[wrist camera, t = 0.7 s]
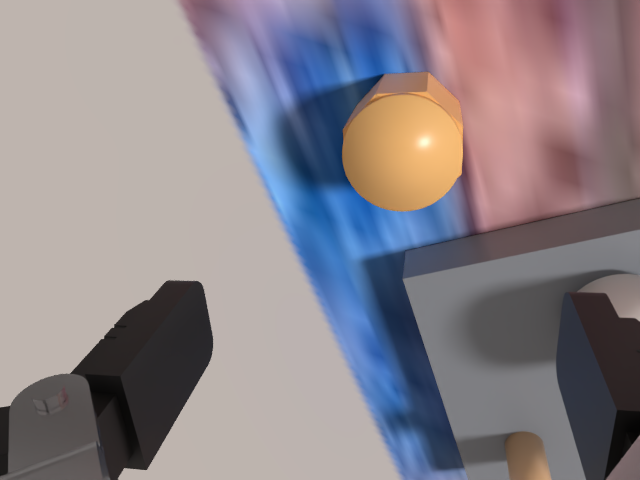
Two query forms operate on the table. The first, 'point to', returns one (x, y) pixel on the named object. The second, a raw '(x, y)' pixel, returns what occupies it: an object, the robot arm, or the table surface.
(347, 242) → the table surface
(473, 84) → the table surface
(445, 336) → the plate
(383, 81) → the orange wire cap
